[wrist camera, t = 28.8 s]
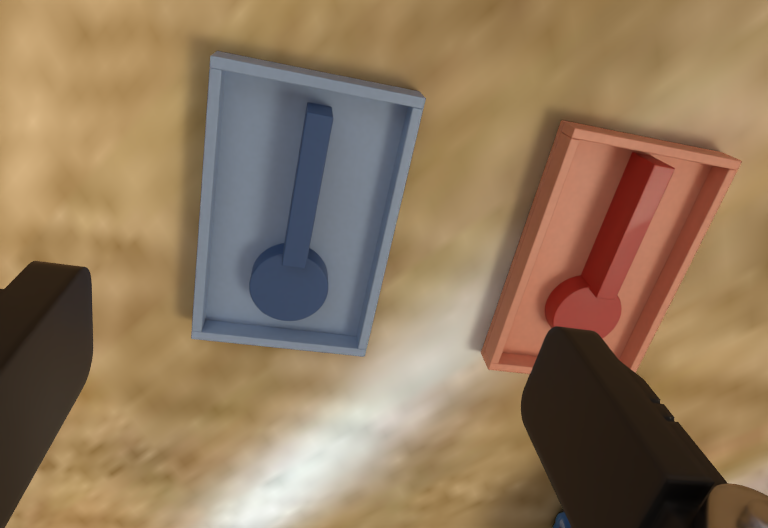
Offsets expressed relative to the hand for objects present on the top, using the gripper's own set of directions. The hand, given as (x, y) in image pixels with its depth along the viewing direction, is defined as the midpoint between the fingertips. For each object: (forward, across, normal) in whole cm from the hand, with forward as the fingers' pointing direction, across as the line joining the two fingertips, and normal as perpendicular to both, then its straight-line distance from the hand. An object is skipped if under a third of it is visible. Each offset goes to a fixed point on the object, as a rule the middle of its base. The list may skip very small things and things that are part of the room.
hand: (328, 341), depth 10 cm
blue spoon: (+23, 0, +8) cm, 25 cm away
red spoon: (+23, -20, +8) cm, 32 cm away
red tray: (+24, -20, +8) cm, 32 cm away
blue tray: (+24, 0, +8) cm, 25 cm away
